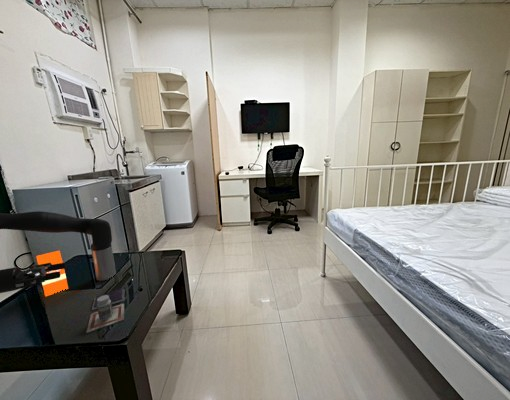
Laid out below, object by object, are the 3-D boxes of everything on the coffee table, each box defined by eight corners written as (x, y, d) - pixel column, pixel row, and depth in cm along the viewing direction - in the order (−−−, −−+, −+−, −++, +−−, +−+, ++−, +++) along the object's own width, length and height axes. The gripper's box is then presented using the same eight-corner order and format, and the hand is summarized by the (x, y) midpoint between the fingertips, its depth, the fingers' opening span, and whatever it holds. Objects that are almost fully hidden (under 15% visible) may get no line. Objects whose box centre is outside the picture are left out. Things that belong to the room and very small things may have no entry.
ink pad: (92, 310, 93) (91, 307, 93) (95, 298, 102) (94, 295, 102) (124, 300, 99) (123, 297, 99) (124, 290, 108) (124, 287, 107)
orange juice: (44, 291, 110) (35, 254, 107) (66, 283, 117) (59, 248, 113) (45, 297, 105) (36, 258, 102) (68, 288, 111) (61, 252, 108)
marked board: (86, 333, 80) (86, 331, 80) (91, 314, 91) (90, 313, 91) (123, 320, 86) (123, 319, 86) (124, 304, 97) (124, 303, 96)
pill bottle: (104, 313, 91) (100, 294, 89) (115, 312, 91) (112, 293, 89) (96, 321, 86) (92, 302, 84) (108, 320, 86) (105, 301, 85)
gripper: (-16, 280, 65) (56, 267, 73) (5, 263, 77) (65, 253, 85) (-11, 303, 66) (59, 287, 74) (9, 283, 78) (68, 271, 86)
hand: (62, 269), depth 80 cm, fingers open, 8 cm apart
